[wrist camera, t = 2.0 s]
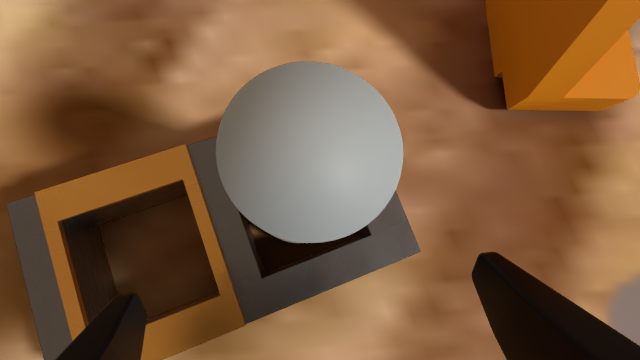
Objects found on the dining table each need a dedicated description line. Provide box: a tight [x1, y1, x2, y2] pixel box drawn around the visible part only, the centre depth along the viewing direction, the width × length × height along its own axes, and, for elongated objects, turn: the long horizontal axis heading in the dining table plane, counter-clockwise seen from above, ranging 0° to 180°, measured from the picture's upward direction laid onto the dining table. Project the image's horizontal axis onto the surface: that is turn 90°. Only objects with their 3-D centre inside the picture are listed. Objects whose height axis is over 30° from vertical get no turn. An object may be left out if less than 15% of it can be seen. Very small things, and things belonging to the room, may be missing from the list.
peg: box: [216, 61, 403, 243], centre depth 13 cm, size 4×4×12 cm
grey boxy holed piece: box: [6, 136, 421, 360], centre depth 17 cm, size 9×17×3 cm, turn 111°
